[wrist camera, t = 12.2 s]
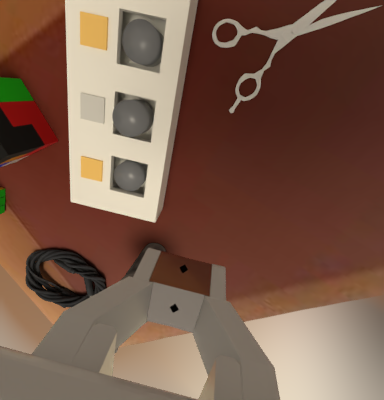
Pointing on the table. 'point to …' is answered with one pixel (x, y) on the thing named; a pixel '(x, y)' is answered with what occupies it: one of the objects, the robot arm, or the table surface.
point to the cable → (70, 264)
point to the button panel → (123, 90)
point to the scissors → (282, 38)
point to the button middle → (132, 117)
